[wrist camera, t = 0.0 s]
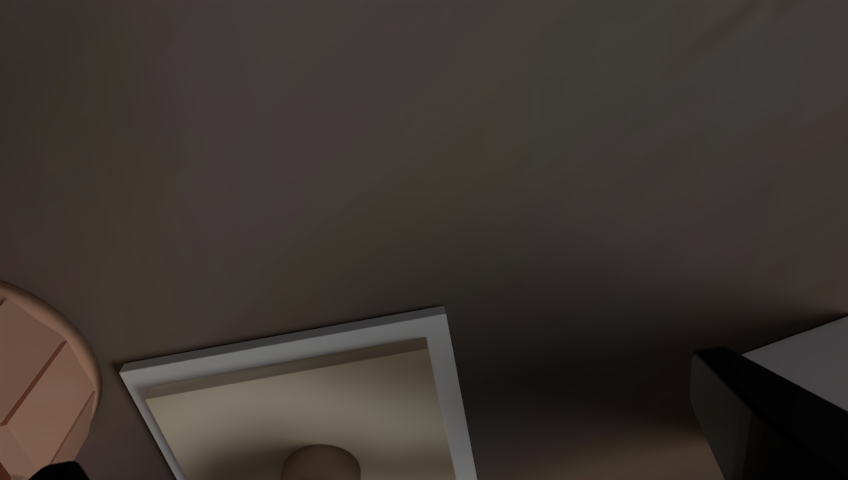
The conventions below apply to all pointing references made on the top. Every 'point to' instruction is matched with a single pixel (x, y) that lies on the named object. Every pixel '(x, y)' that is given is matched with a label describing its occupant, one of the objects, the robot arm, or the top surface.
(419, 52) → the top surface
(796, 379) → the milk
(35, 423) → the bowl
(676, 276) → the top surface
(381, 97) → the top surface
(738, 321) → the top surface
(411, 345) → the cover
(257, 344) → the mat
